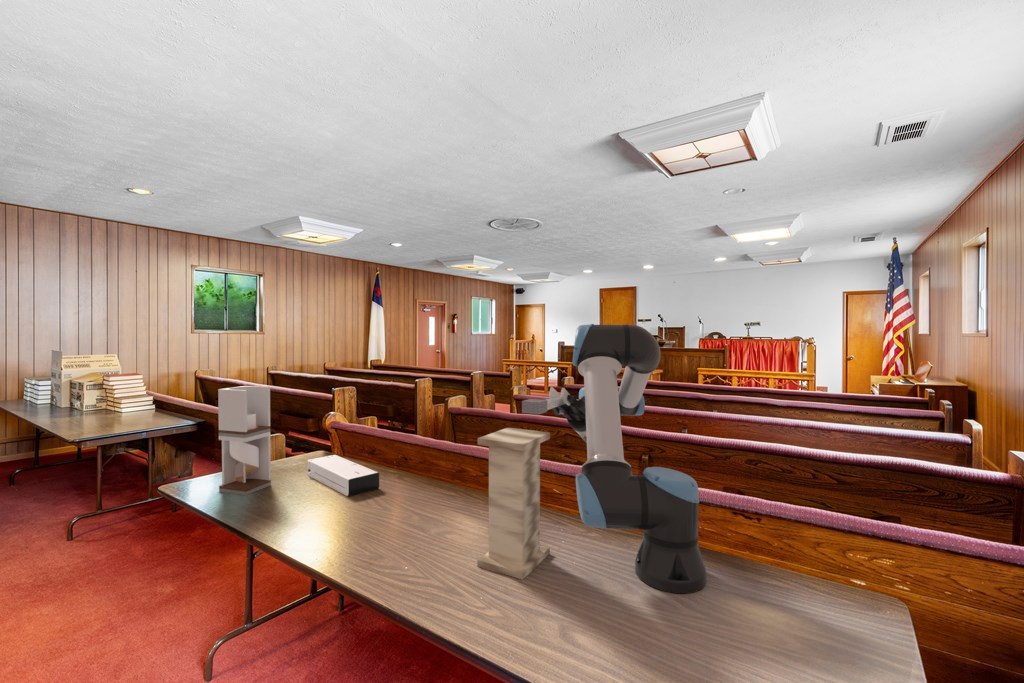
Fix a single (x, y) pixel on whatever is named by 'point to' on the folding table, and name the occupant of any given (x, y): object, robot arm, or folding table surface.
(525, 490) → the pedestal
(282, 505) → the folding table surface
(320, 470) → the laminator
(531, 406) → the grey long bar
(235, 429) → the white tower
